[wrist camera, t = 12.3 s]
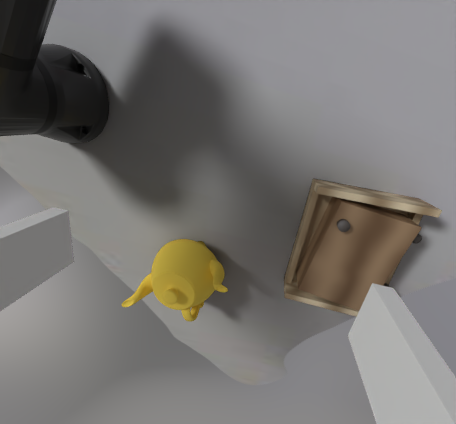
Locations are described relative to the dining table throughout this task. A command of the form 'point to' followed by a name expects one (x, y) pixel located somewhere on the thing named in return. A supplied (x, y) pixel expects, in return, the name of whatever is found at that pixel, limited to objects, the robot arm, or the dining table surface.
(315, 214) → the box
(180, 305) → the teapot
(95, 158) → the dining table surface
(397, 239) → the door
